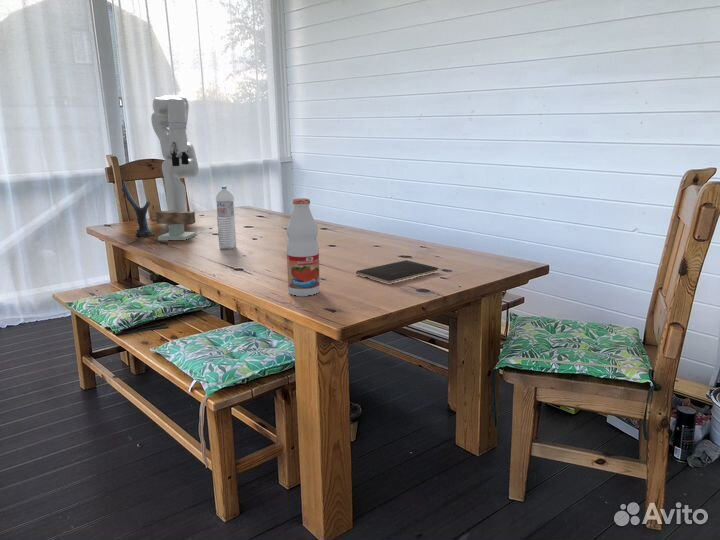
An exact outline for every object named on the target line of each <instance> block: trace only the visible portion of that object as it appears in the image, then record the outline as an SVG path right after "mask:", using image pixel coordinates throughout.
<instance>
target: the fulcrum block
mask: <svg viewBox="0 0 720 540" xmlns="http://www.w3.org/2000/svg"><path fill="white" fill-rule="evenodd" d="M167 225H168V227H167V228H168V232H166V233H164V234H161V235H158V236H157V241H168V240H185V241H187V240H189V239H191V237H192V238H194V237H196V236H195V235H197V233H196V231H195V232H194V231H192V232H191V231H185V224H167ZM193 236H194V237H193ZM188 238H189V239H188ZM186 239H187V240H186Z"/></svg>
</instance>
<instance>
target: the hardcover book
mask: <svg viewBox="0 0 720 540" xmlns="http://www.w3.org/2000/svg"><path fill="white" fill-rule="evenodd" d="M438 270H440V269H439V267H436V266H432V265H428V264H423V263H419V262H415V261H412V260H408V259H407V260H406V259H405V260H401V261H397V262H392V263H387V264H382V265H378V266H373V267H369V268H363V269H359V270H357V271H356V272H355V275H356V274H358V275H362V276H365V277H368V278H372V279H375V280H379V281H383V282H387V283H392V282H395V281H399V280H403V279H407V278H411V277H414V276H418V275H423V274H428V273H431V272H435V271H438Z"/></svg>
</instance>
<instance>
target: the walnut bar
mask: <svg viewBox="0 0 720 540" xmlns="http://www.w3.org/2000/svg"><path fill="white" fill-rule="evenodd" d="M155 218H156V219H155V221H156V225H170V224H184V225H193V224H196V213H195V211H189V210H187V211H168V210H159V211H158V210H157V211H156V212H155Z"/></svg>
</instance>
